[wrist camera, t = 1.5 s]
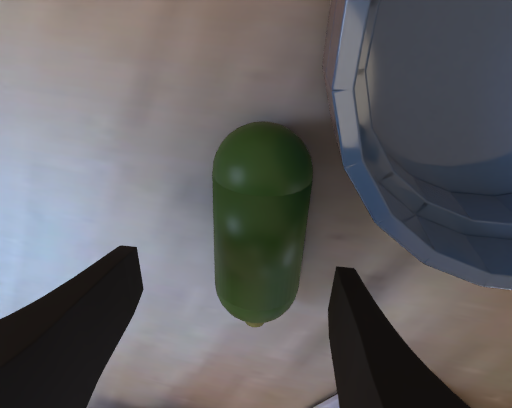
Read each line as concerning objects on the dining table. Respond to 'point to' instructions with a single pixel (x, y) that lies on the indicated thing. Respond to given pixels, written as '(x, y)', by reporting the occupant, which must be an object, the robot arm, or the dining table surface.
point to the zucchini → (260, 219)
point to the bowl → (428, 126)
